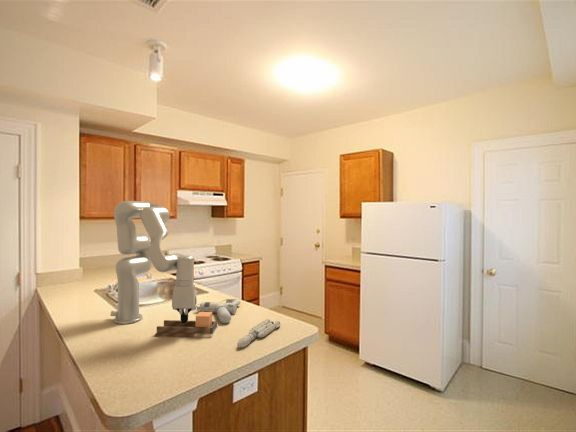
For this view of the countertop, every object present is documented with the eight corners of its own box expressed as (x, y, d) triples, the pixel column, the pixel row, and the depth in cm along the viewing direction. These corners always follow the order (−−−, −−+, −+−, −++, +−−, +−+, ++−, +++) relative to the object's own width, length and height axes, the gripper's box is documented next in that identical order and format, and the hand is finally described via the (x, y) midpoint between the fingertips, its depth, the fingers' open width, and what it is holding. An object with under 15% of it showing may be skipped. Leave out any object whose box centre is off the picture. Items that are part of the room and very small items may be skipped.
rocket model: (281, 320, 149) (247, 343, 122) (281, 328, 149) (247, 352, 122) (265, 317, 153) (228, 338, 126) (264, 324, 153) (228, 347, 126)
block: (195, 331, 138) (195, 316, 138) (199, 326, 144) (199, 311, 144) (208, 331, 138) (208, 316, 138) (212, 326, 144) (212, 312, 144)
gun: (245, 306, 180) (229, 325, 151) (198, 304, 184) (173, 322, 154) (245, 296, 180) (229, 314, 150) (198, 294, 184) (173, 311, 154)
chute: (154, 336, 136) (154, 328, 136) (166, 326, 148) (166, 318, 148) (211, 337, 135) (211, 329, 135) (217, 327, 147) (217, 319, 147)
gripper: (165, 284, 137) (164, 324, 138) (198, 285, 137) (198, 325, 138) (171, 280, 145) (171, 318, 145) (203, 281, 145) (202, 319, 145)
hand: (184, 322), depth 142 cm, fingers closed
